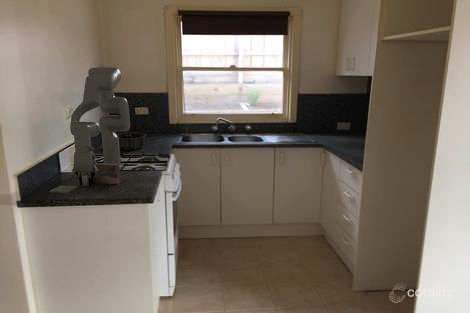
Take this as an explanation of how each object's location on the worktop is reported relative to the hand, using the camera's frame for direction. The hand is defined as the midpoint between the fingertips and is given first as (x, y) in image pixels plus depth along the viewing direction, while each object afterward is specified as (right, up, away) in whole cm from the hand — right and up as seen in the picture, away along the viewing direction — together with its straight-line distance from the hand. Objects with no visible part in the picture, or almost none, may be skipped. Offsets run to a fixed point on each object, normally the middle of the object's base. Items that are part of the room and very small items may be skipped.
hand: (86, 184), depth 184 cm
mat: (-9, -2, -6) cm, 11 cm away
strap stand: (+6, 0, +6) cm, 8 cm away
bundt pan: (-6, +20, +96) cm, 98 cm away
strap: (+12, +6, -3) cm, 14 cm away
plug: (0, -1, 0) cm, 0 cm away
